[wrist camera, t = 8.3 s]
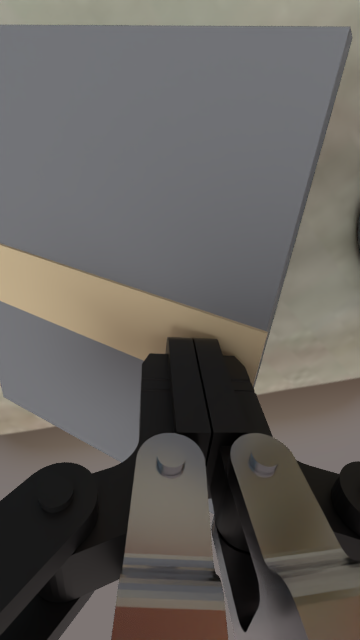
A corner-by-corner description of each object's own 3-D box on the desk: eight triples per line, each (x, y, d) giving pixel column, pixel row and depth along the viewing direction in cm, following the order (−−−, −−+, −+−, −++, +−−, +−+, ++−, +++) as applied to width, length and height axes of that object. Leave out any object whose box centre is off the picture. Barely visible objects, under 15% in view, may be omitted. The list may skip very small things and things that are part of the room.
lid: (355, 37, 7) (352, 24, 6) (223, 499, 14) (215, 518, 14) (-57, 30, 11) (-88, 23, 10) (15, 388, 19) (1, 398, 18)
